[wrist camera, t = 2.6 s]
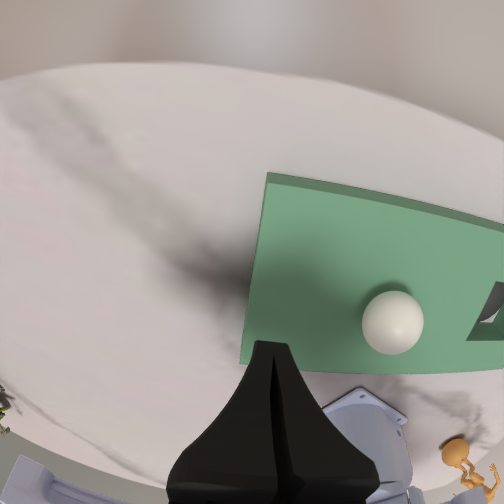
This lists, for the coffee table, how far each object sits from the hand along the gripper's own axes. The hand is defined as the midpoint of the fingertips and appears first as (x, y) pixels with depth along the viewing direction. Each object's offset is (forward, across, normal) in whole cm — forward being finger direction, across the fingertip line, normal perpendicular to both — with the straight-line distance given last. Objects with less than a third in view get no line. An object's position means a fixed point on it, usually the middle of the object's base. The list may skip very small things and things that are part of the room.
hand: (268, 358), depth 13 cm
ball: (+3, -7, 0) cm, 8 cm away
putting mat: (+8, -11, 0) cm, 14 cm away
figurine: (+8, -30, +23) cm, 38 cm away
